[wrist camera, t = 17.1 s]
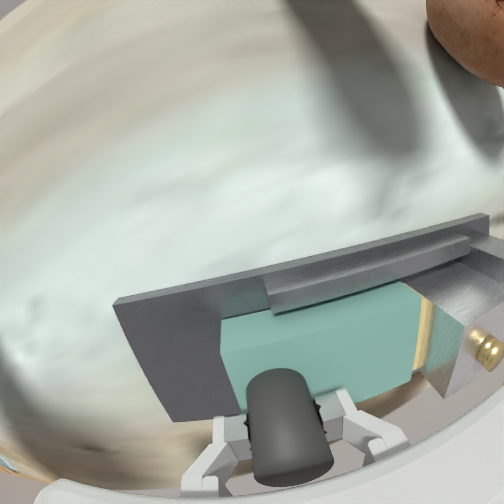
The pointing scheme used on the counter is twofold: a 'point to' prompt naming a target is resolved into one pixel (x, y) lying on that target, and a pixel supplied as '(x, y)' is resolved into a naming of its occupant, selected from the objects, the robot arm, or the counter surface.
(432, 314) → the housing
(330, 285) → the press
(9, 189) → the counter surface
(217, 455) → the robot arm
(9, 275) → the counter surface
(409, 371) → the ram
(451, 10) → the onion
